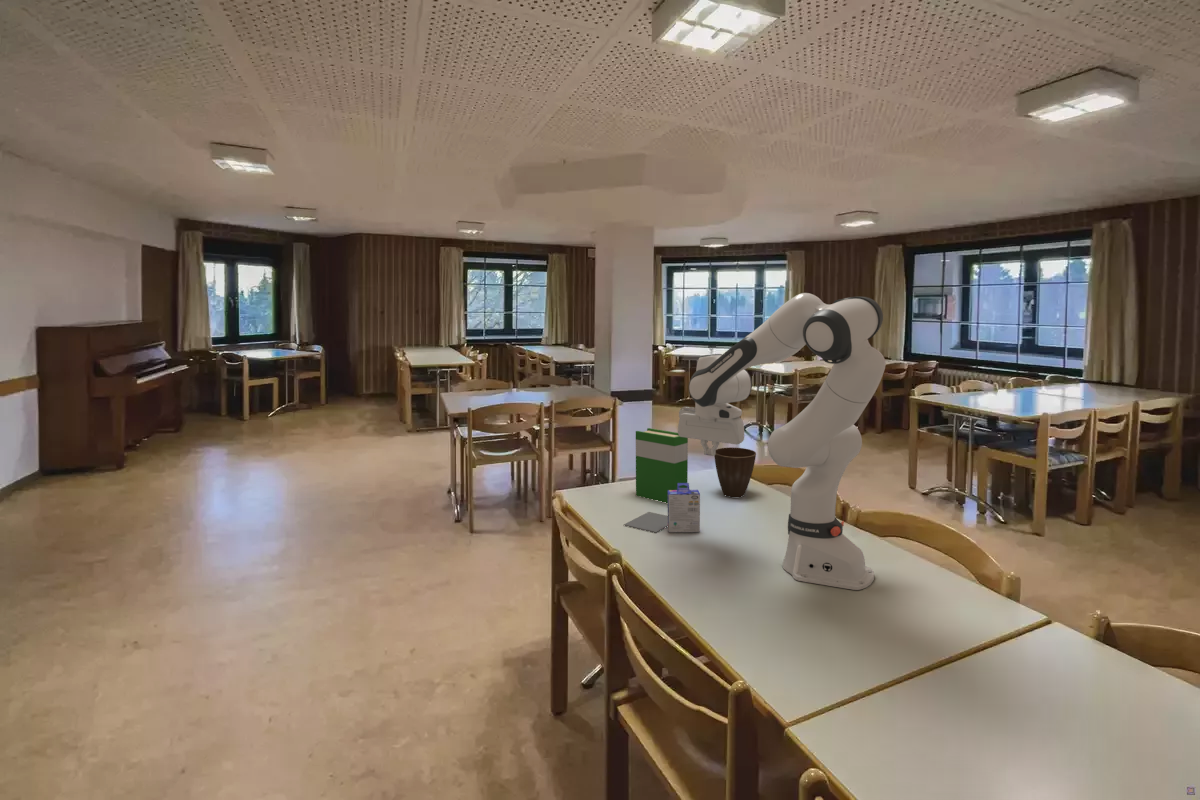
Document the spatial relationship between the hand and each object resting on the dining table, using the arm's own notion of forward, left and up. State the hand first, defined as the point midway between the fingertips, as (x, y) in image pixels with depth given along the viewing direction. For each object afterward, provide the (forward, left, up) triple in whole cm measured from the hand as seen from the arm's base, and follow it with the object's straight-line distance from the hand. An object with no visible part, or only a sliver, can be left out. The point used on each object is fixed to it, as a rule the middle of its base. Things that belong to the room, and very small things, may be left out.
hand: (709, 455), depth 190 cm
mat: (+20, 0, -25) cm, 32 cm away
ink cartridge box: (+9, 0, -25) cm, 26 cm away
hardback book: (+31, -24, -25) cm, 46 cm away
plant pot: (+11, -42, -25) cm, 50 cm away
